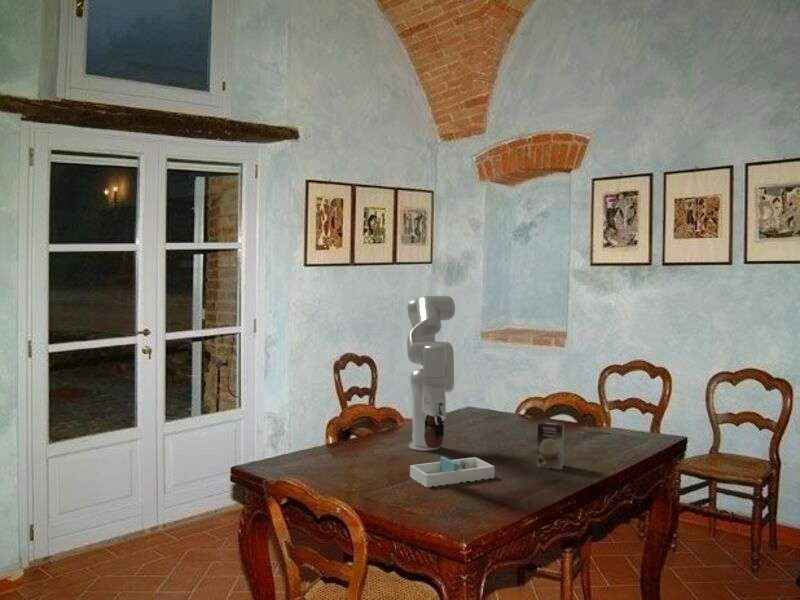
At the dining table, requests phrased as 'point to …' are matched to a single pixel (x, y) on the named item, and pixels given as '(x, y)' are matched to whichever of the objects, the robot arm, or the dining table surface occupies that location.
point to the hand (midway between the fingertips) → (434, 433)
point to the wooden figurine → (432, 434)
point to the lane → (451, 472)
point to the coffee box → (550, 444)
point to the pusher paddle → (452, 465)
